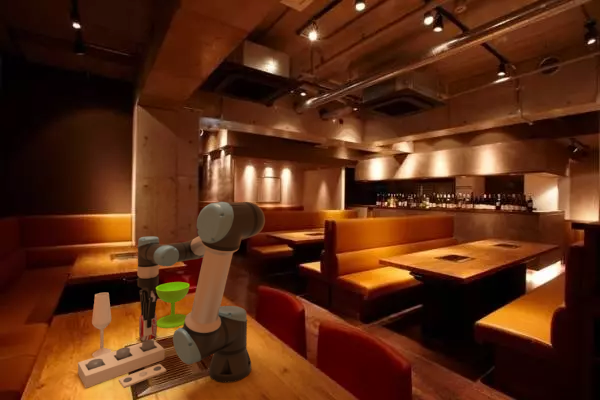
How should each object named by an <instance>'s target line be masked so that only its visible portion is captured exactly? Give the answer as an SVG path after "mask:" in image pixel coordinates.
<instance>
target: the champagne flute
mask: <svg viewBox="0 0 600 400" xmlns="http://www.w3.org/2000/svg"><path fill="white" fill-rule="evenodd" d="M93 301H94V303H93V311H92V318H91V324H92V326H93V327H94V328H95V329H97V330H99V346H100V347H99V348H98V349H97V350H96V351H94V352H93V353H92V358H94V357H97V356H101V355H104V354H107V353H110V352H112V349H111V348H107V347H105V346H104V345H105V344H104V341H105V340H104V338H105V337H104V335H105V334H104V333H105V332H104V330H105V329H106V328H107V327H108V326H109V325H110V323H111V322H112V312H111V311H112V310H111V304H110V302H111V301H110V294H109V292H99V293H95V294H94V299H93Z"/></svg>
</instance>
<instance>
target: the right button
mask: <svg viewBox="0 0 600 400" xmlns="http://www.w3.org/2000/svg"><path fill="white" fill-rule="evenodd" d="M154 341H155V339H153V340H146V341H142V342H143V343H142V342H141V343H142V351H143V352H145V351H148V350H151V349H154Z"/></svg>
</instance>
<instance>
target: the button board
mask: <svg viewBox="0 0 600 400" xmlns="http://www.w3.org/2000/svg"><path fill="white" fill-rule="evenodd" d="M152 340H154V339H152ZM143 342H144V341H142V342H140V343H136V344H132V345H130V346H126V347H127V348H130V357H127V358H124V359H121V360H118V361H117V359H116V351H117V350H114V351H111V352H110V353H107V354H104V355H101V356H97V357H91V358H88V359H85V360H82V361H78V362H77V374H78V376H79V378H80V380H81V382H82V383H83V386H84V388H85V389H87V388H89V387H92V386H96V385H98V384H101V383H104V382H106V381H109V380H111V379H115V378H117V377H120V376H122V375H125V374H128V373H131V372H133V371H136V370H138V369H143V368H145V367H147V366H150V365H152V364H155V363H158V362H161V361H164V360H165V355H166V354H165V353H166V351H165V348H164V347H163V346H162V345H160V344H159V343H158V342H157V341H156V340H154V349H151V350H148V351H145V352H143V351H142V343H143ZM94 359H102V360H103V366H100V367H97V368H94V369H91V370H88V362H90V361H91V360H94Z"/></svg>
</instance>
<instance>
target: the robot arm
mask: <svg viewBox="0 0 600 400" xmlns="http://www.w3.org/2000/svg"><path fill="white" fill-rule="evenodd" d="M196 219H197V220H196V229H197V235H198V236H196V237H195V238H192V239H190V240H188V241H181V242H180V241H179V242H173V243H167V244H165V243H164V244H163V243H160V238H159V237H158V236H153V235H152V236H142V237H139V238H138V239H137V240H138V241H137V243H138V244H137V276H138V277H137V287H138V288H141V289H140V290H139V291H138V293H139V301H140V311H141V312H140V315H143V318H144V319H143V320H144V336H148V335H151V334H152V319H153V318H155V313H156V311H157V310H156V309H157V301H158V298H159V297H158V295H156V289H155V288H156V287H157V286H159V285H160V284H159V280H160V278H159V277H160V276H159V273H160V272H159V271H160V268H161V267H171V266H174V265H175V264H176V263H180V262H184V261H185V262H186V261H190V260H199V259H201V258H202V262H201V267H200V269H199V270H200V271H199V275H198V280H197V285H196V289H195V293H194V299H193V302H192V308H191V311H190V312H189V313H188V314H186V317H185V321H184V325H182V326H181V327H179V328H178V327H177V329H176V330H175V331H174V333H173V337H172V342H173V346H174V347H173V348H174V350H175V353H176V355H177V357H179V359H180V360H181V361H182V362H183V363H184V364H186V365H192V364H195V363H197V362H201V361H202V360H203V359H206V358H208V357H209V356H212V357H211V361H210V364H209V367H208V368H209V369H208V374H209V377H210V378H211V379H212V380H214V381H216V382H220V383H233V382H238V381H241V380H243V379H244V378H246V377H247V376H249V374H250V373H251V371H252V361H251V358H250V355H249V351H248V347H247V346H248V345H247V343H248V342H247V337H248V335H247V334H248V333H247V332H248V331H247V329H248V318H247V311H246V310H245V308H244V307H243V308H242V307H241V306H235V305H221V304H222V301H223V296H224V292H225V288H226V284H227V280H228V275H229V272H230V267H231V263H232V259H233V254H234V253H235V252H237V251H238V250H239V249H240V246H241V242H242V240H246V239H248V238H251V237H254V236H257V235H258V234H260V232H262V230H263V229H264V226H265V223H266V218H265V213H264V211H263V209H262V208H261V207H260V206H259V205H257V204H255V203H254V202H250V201H237V202H235V201H229V202H228V201H227V202H226V201H219V202H211V203H209V204H207V205H206V206H204V207H203V208H202V209H201V210H200V212H199V214H198V216H197V218H196ZM160 266H161V267H160Z"/></svg>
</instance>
